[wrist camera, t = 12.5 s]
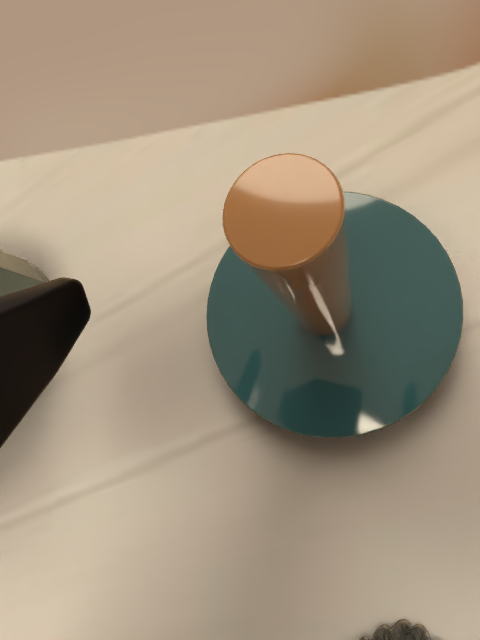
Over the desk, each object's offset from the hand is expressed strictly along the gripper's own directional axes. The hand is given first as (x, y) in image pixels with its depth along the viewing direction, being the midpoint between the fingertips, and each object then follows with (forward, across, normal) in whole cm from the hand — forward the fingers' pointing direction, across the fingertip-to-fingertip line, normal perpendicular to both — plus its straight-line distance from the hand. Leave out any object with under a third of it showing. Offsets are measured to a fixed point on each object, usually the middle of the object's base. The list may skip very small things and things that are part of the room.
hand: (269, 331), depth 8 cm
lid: (+8, 0, +5) cm, 9 cm away
